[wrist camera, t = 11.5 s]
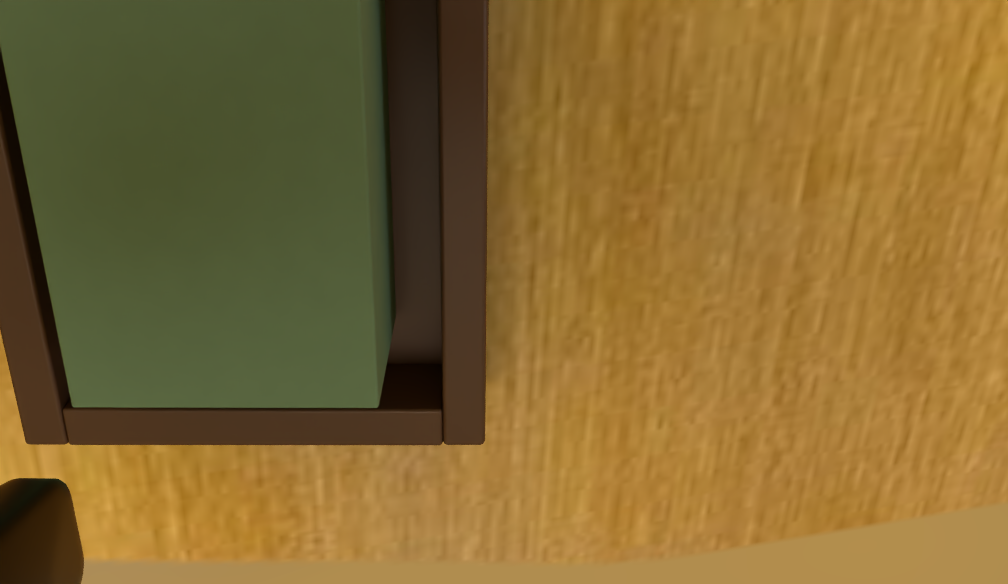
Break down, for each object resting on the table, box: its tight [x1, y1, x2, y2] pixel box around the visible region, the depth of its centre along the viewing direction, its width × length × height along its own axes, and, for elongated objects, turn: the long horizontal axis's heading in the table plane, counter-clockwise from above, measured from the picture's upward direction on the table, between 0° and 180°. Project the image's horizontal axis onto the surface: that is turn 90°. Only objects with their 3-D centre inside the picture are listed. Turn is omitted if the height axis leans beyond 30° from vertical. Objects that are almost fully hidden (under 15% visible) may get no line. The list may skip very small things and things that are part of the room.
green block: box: [0, 0, 396, 408], centre depth 15 cm, size 9×5×4 cm, turn 179°
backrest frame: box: [0, 0, 489, 445], centre depth 16 cm, size 9×13×2 cm
